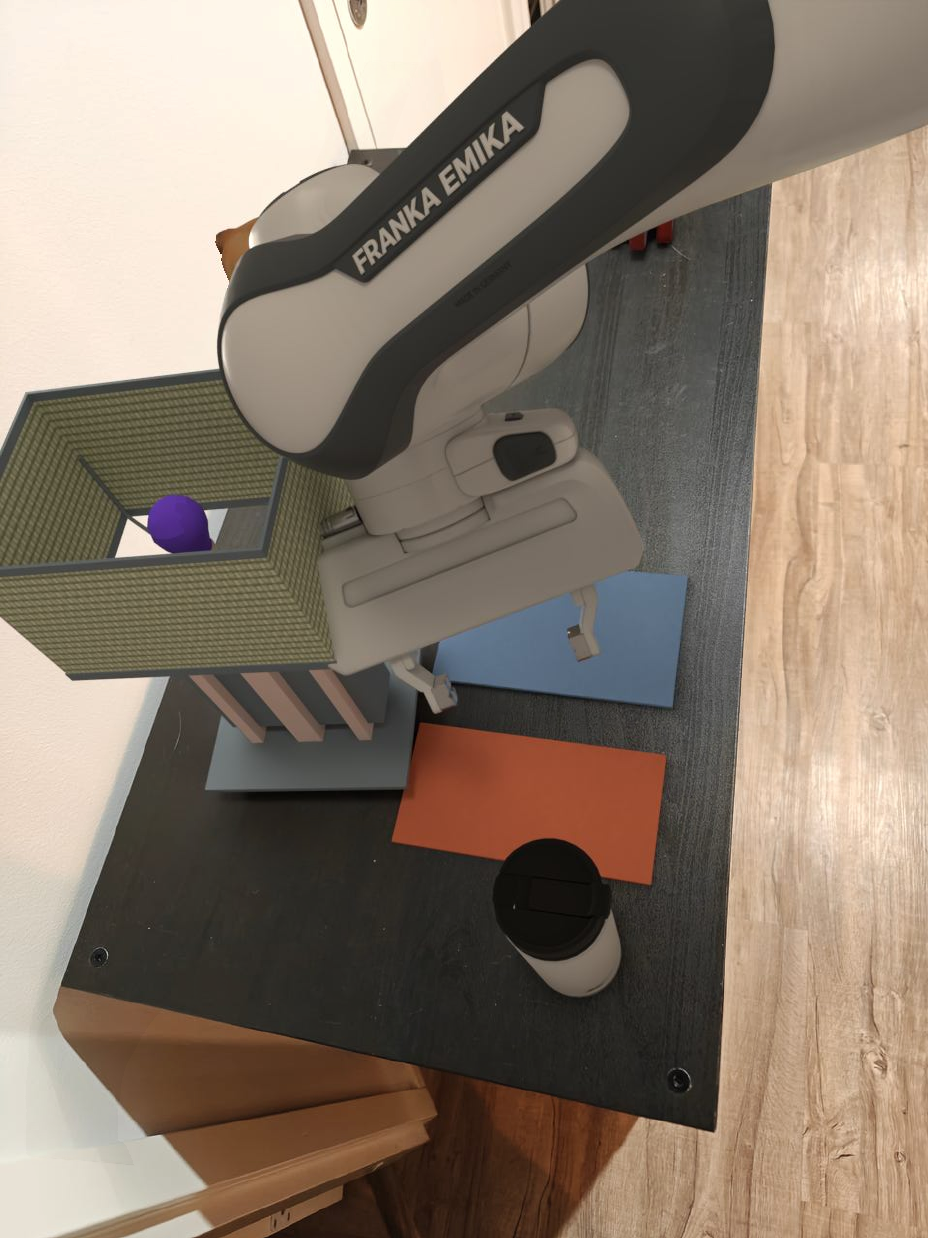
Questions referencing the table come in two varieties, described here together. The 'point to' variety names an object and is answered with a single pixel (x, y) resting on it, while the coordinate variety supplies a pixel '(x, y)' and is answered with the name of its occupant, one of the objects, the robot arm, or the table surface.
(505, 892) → the travel mug
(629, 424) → the table surface
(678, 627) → the blue mat
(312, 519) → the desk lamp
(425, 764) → the terracotta mat
